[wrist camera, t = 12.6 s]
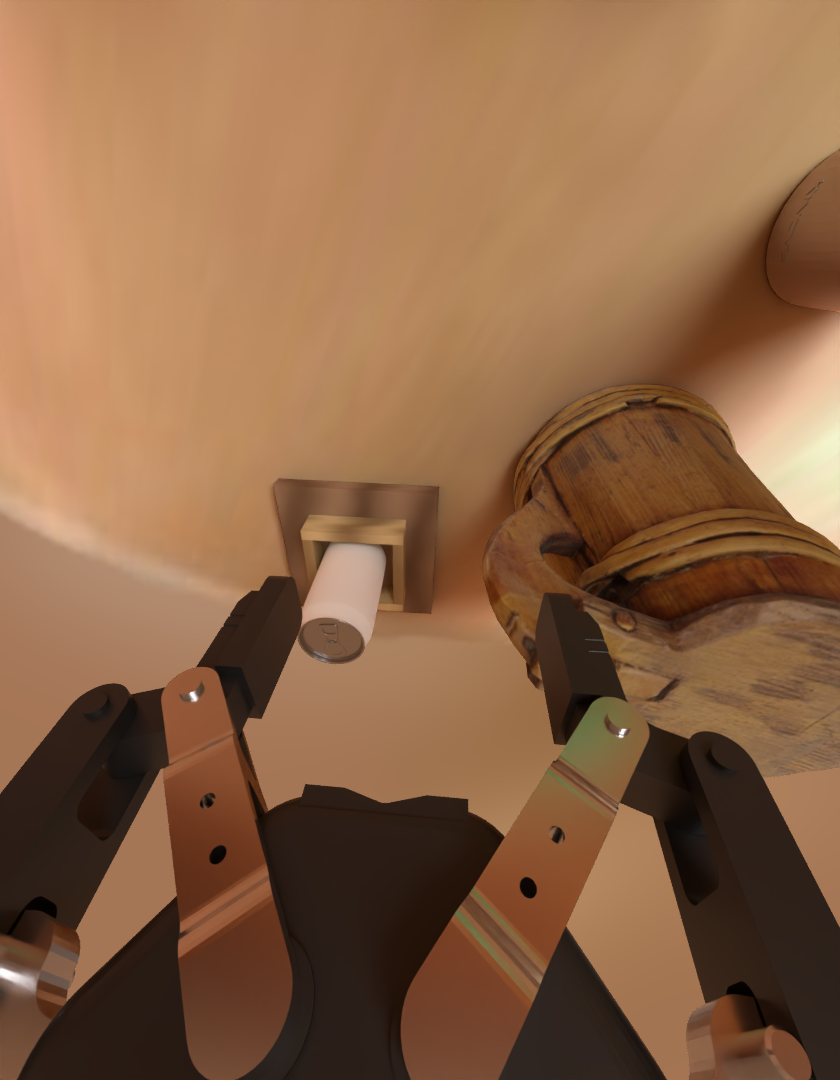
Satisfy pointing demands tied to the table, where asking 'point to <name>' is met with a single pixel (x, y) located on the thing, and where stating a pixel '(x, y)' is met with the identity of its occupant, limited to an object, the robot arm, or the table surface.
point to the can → (343, 602)
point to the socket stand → (363, 533)
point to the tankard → (677, 574)
